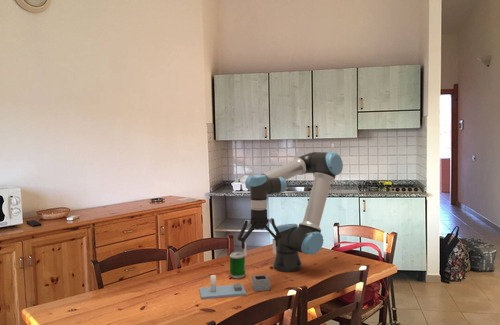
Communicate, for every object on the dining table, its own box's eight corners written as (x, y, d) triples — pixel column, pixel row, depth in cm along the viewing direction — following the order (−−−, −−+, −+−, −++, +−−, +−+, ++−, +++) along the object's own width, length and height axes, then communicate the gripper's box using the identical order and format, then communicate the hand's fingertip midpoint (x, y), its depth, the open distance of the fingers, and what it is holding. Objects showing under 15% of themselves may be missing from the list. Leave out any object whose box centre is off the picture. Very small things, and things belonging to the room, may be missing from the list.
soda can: (243, 279, 209) (242, 255, 208) (228, 278, 211) (228, 255, 210) (246, 274, 216) (246, 251, 216) (232, 273, 218) (231, 250, 217)
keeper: (242, 286, 200) (241, 269, 199) (246, 295, 188) (246, 277, 187) (199, 289, 196) (199, 272, 196) (201, 299, 184) (200, 281, 184)
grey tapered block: (266, 285, 200) (266, 274, 200) (270, 290, 193) (269, 279, 193) (252, 286, 199) (251, 275, 199) (254, 291, 192) (254, 280, 192)
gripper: (283, 206, 200) (284, 250, 201) (230, 208, 196) (231, 254, 197) (287, 208, 192) (288, 254, 194) (233, 211, 188) (234, 258, 189)
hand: (259, 254), depth 195 cm, fingers open, 13 cm apart
